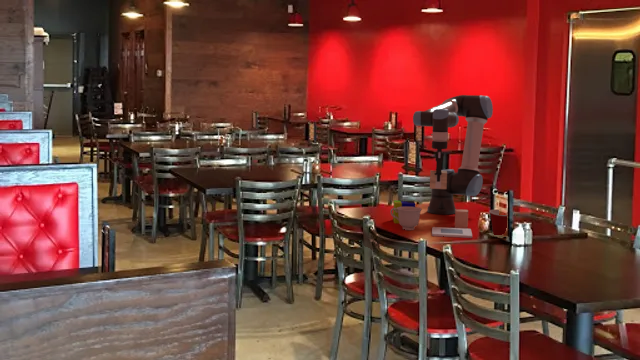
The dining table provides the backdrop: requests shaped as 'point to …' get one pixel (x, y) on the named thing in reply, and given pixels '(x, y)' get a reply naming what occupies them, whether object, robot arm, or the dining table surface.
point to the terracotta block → (461, 218)
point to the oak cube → (433, 180)
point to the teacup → (407, 216)
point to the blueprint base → (451, 232)
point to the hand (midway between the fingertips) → (438, 186)
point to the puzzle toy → (401, 204)
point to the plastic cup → (498, 222)
